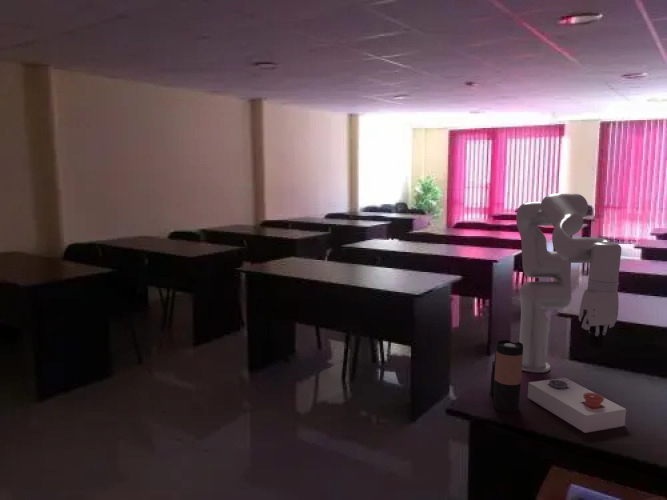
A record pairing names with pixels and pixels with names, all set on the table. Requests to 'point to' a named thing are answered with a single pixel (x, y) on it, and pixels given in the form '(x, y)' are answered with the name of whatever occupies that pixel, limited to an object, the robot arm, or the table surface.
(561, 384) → the metal button
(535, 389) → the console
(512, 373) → the travel mug
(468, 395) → the table surface
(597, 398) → the red button
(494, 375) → the two-way radio
